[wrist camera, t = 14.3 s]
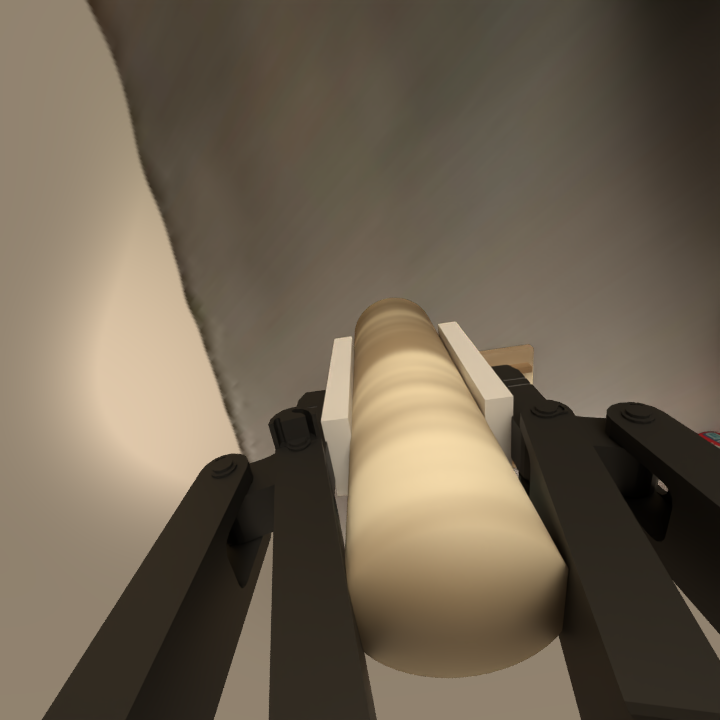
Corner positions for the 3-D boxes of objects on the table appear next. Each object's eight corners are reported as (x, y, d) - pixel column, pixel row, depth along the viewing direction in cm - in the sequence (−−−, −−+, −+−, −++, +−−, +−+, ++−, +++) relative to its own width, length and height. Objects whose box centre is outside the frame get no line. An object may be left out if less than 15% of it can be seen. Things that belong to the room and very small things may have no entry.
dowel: (348, 304, 19) (322, 541, 6) (429, 292, 18) (585, 512, 6) (360, 375, 20) (360, 685, 7) (435, 365, 20) (567, 668, 7)
